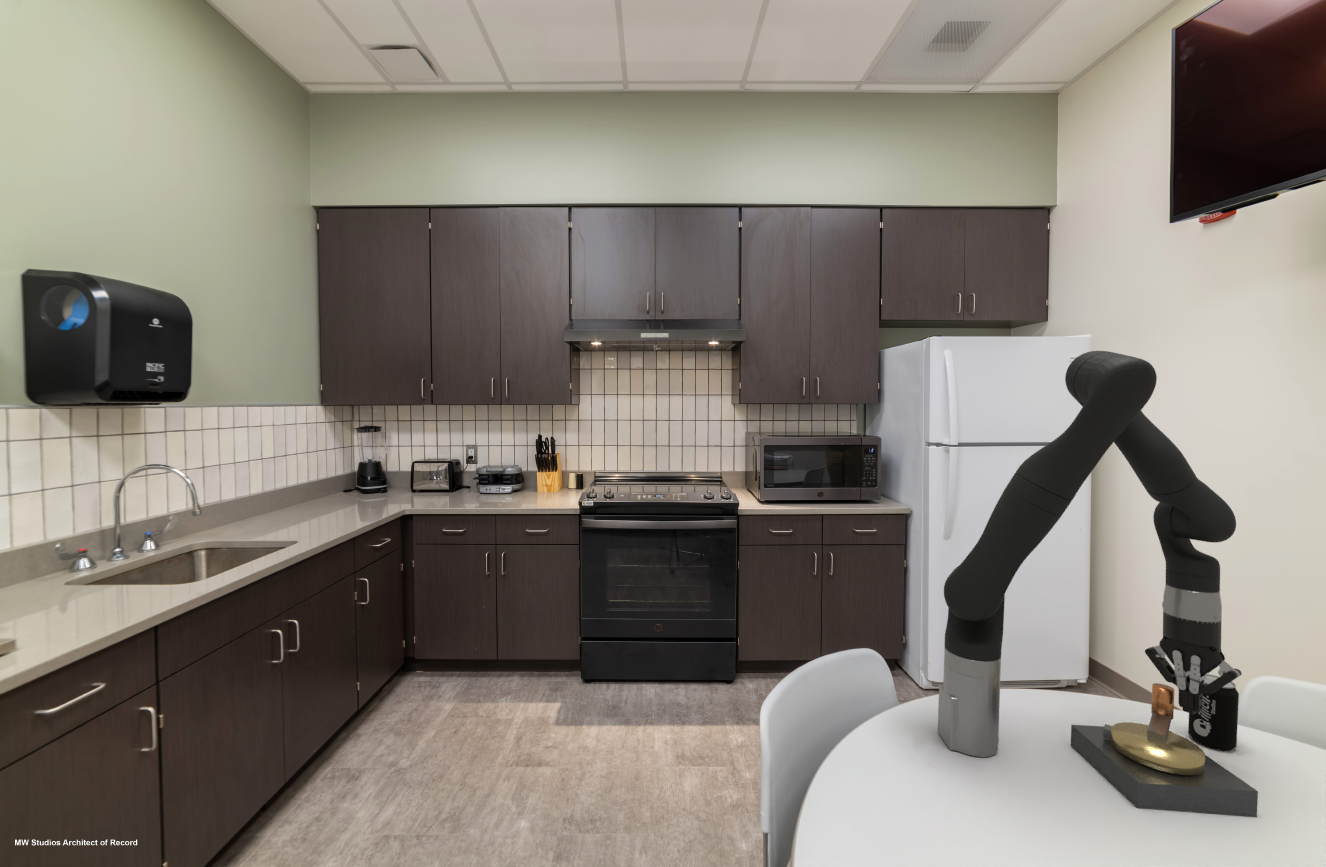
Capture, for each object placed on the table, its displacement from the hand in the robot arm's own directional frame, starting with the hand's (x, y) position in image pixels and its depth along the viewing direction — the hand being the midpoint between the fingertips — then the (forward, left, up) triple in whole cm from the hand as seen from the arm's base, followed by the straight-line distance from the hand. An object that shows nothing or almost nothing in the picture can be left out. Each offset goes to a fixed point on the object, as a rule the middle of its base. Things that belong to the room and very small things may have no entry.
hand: (1190, 711), depth 101 cm
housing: (-9, -5, -10) cm, 14 cm away
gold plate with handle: (-7, -2, -5) cm, 9 cm away
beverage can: (+10, +8, -10) cm, 16 cm away
